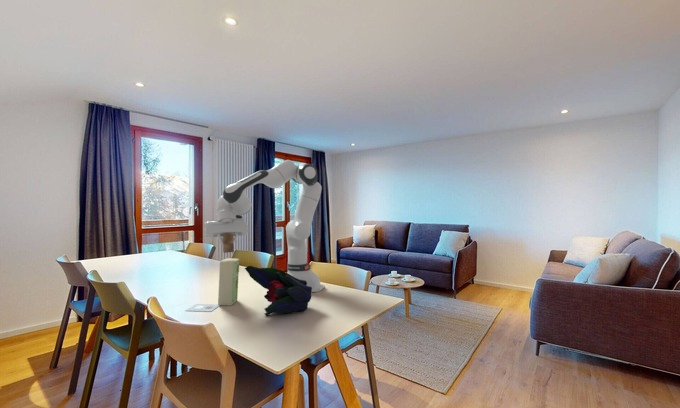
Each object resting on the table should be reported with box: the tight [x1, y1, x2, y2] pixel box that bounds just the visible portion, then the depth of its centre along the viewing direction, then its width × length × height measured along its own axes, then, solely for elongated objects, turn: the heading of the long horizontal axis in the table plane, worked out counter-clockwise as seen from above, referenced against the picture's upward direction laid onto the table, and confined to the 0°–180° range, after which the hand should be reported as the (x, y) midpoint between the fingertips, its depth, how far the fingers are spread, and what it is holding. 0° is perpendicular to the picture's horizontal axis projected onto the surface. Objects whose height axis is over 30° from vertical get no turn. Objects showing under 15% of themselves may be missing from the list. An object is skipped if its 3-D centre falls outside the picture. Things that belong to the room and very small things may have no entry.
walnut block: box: [222, 233, 235, 254], centre depth 145 cm, size 4×4×9 cm
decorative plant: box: [244, 265, 313, 316], centre depth 134 cm, size 21×26×30 cm
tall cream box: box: [217, 257, 240, 306], centre depth 145 cm, size 8×7×21 cm
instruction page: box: [185, 303, 221, 313], centre depth 138 cm, size 12×9×1 cm
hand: (228, 241), depth 145 cm, fingers closed on walnut block, 4 cm apart
